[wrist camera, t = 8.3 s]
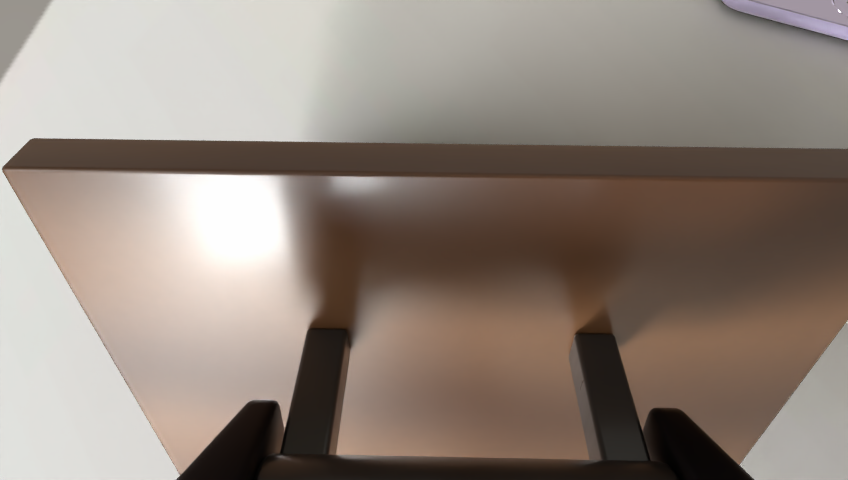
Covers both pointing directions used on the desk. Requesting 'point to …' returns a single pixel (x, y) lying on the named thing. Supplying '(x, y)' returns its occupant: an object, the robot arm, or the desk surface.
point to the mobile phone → (800, 13)
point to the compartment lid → (449, 294)
